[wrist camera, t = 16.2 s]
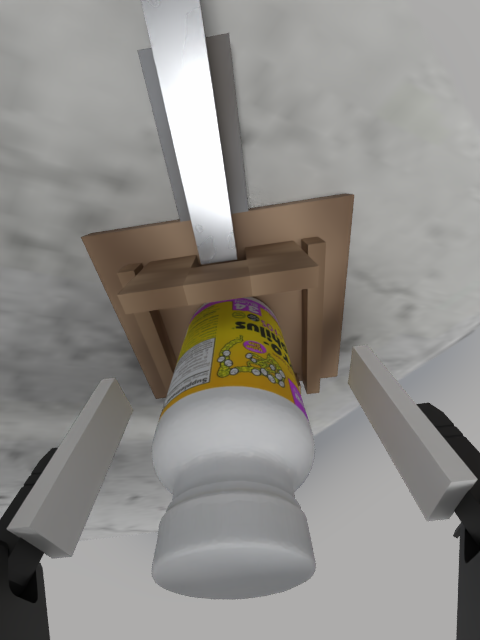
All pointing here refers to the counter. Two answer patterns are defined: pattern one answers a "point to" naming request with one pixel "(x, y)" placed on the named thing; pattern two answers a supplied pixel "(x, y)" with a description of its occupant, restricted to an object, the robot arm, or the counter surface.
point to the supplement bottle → (233, 460)
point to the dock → (235, 275)
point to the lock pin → (193, 121)
